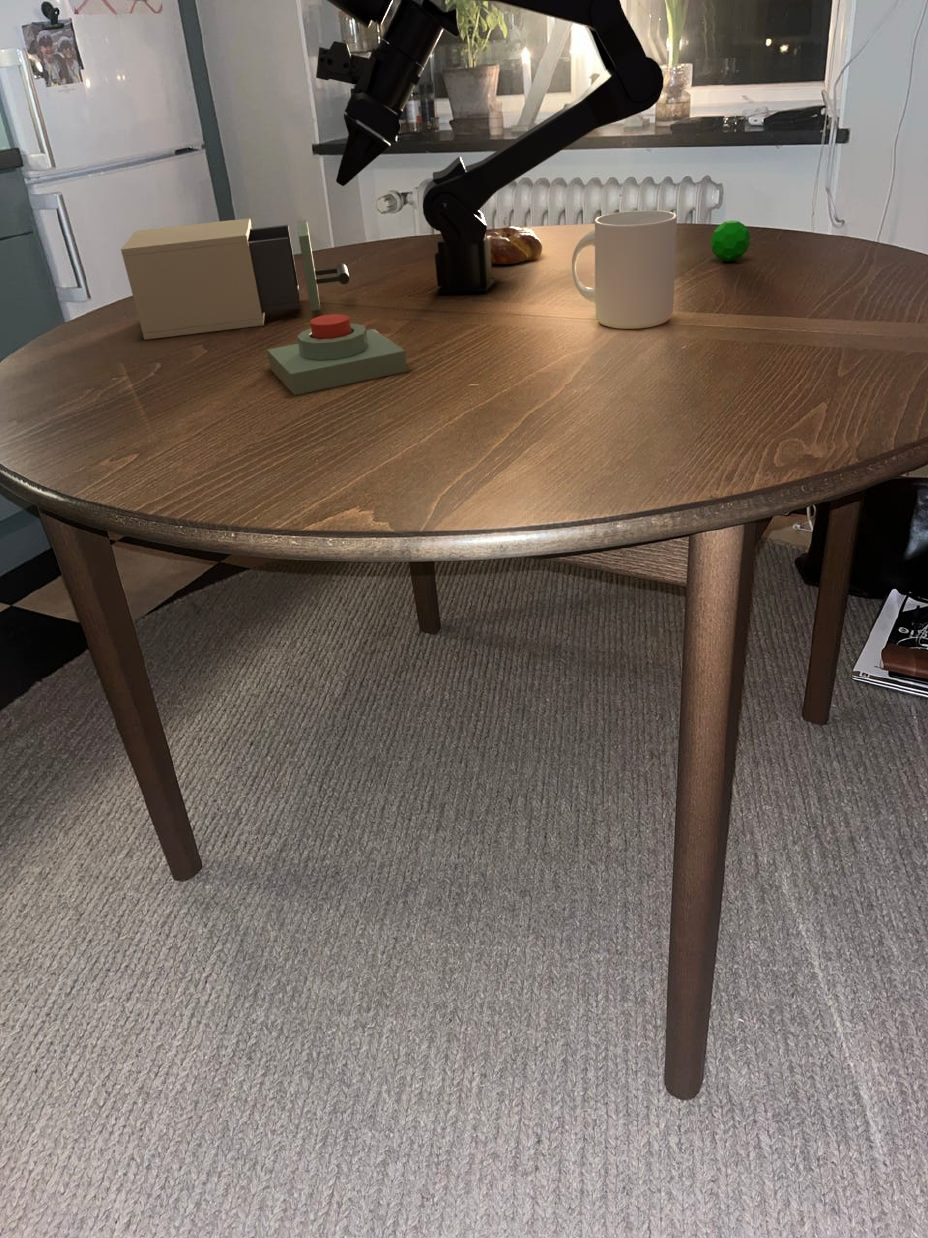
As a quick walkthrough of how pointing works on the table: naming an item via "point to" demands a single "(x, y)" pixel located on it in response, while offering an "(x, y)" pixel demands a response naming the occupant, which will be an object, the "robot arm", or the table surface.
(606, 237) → the mug
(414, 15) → the robot arm
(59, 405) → the table surface
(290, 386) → the control block
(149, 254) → the tan box with sleeve
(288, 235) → the drawer
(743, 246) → the polyhedron
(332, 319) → the button
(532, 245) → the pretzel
